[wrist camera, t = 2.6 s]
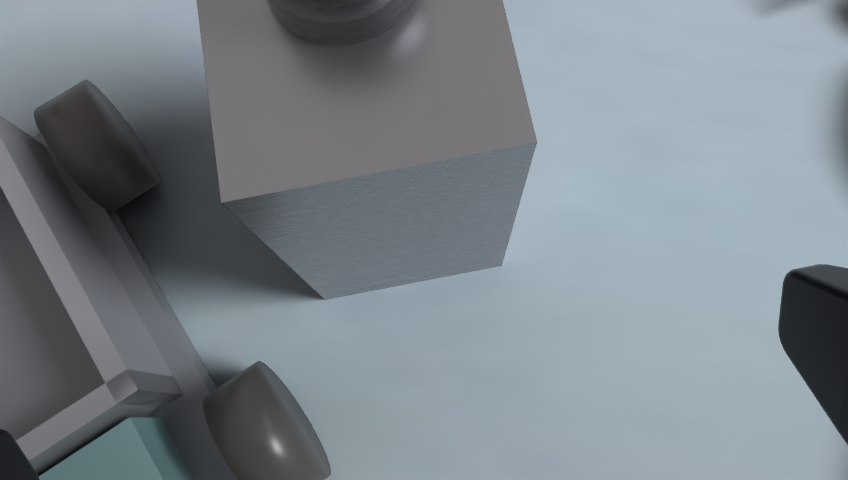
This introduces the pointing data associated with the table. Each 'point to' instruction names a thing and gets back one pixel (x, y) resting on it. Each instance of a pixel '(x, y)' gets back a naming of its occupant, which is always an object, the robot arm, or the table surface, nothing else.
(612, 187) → the table surface
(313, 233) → the block
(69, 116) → the chassis
